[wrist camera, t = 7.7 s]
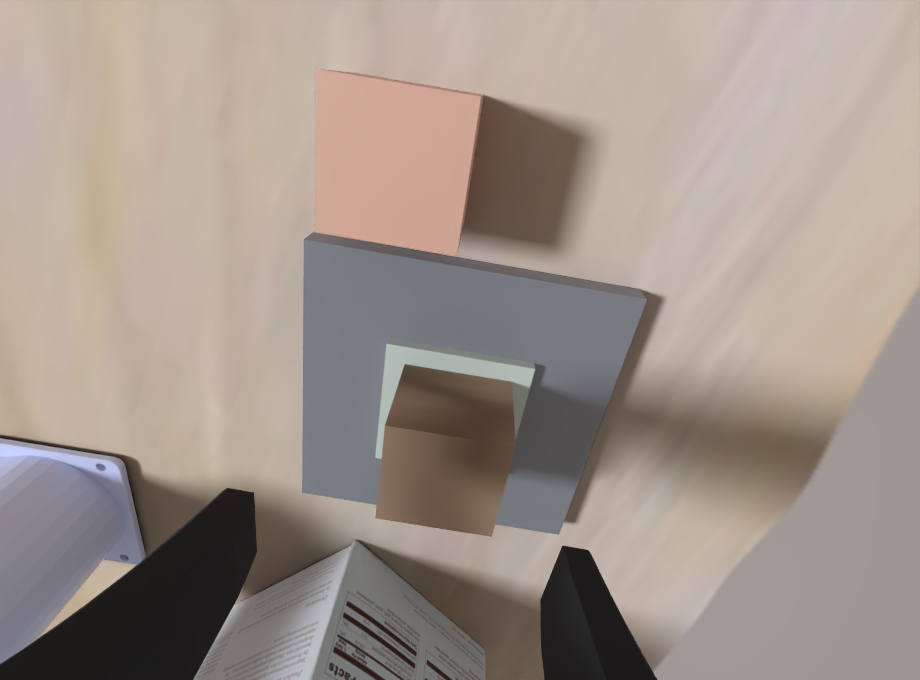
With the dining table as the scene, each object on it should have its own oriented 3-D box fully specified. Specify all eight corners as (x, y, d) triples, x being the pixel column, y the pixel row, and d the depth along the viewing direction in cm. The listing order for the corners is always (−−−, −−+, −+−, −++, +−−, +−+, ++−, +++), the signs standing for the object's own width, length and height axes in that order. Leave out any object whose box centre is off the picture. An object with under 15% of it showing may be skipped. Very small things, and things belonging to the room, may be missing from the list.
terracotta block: (349, 204, 18) (314, 232, 15) (355, 73, 16) (315, 68, 13) (464, 223, 18) (456, 255, 15) (483, 95, 16) (480, 96, 13)
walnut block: (394, 447, 21) (375, 518, 18) (404, 363, 19) (384, 425, 16) (491, 463, 21) (491, 536, 18) (511, 381, 19) (515, 446, 16)
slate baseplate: (309, 478, 25) (298, 500, 23) (312, 232, 19) (298, 243, 17) (556, 518, 25) (560, 543, 24) (640, 289, 19) (651, 304, 17)
